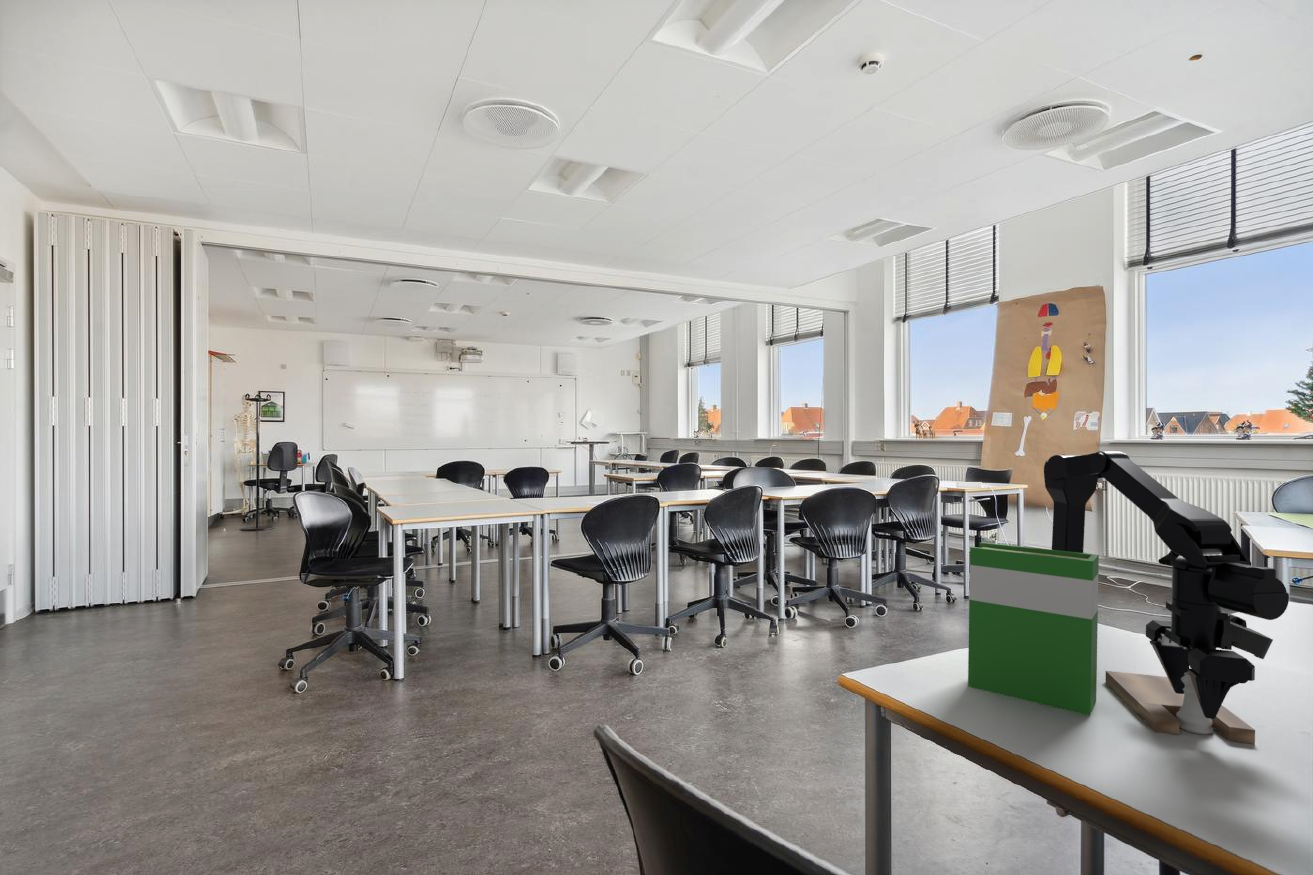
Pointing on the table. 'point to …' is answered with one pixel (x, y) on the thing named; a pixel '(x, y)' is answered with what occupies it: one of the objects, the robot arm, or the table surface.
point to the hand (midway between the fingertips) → (1193, 705)
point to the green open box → (1034, 625)
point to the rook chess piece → (1192, 711)
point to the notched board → (1170, 705)
